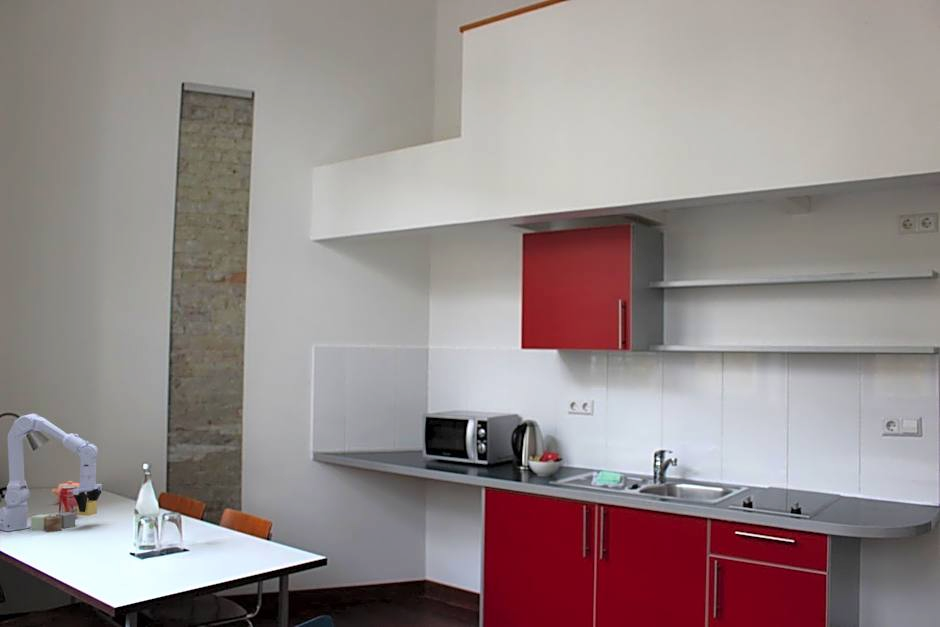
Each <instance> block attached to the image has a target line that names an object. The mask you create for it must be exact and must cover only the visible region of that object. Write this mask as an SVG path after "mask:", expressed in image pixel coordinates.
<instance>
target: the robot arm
mask: <svg viewBox="0 0 940 627" xmlns="http://www.w3.org/2000/svg"><path fill="white" fill-rule="evenodd" d="M38 431H39V432H41V431H42V432H44V433H47V434H48V435H50V436H52V437H54V438H56V439H57V440H59V441H61V443H62V446H63V447H65V448H66V449H68V450H69V451H71V452H73V453H74V454H76V455H78V457H79V458H80V465H79V467H80V469H79V483H80V487H78V488H76V489H73V495H74V498H75V499H76V501H77V504H78V507H79V511H80V512H85V510H86V502H87V500H94V501H97V502H98V499H99V497H100V495H101V493H102V489H103V483H97V482H96V480H97V455H98V454H99V449H98V446H96V444H94V443H90V442H89V441H88V440H85V439H83V438H81V437H80V436H79V434H77V433H74V432H73V433H72V432H71V433H66V432H65V431H64V430H62V429H61V428H60V427H58V426H56V425H55V424H53V423H51V421H49V420H48V419H46V418H45V417H42V416H40V415H39V414H38V413H34V412H33V413H29V414H26V415H25V414H24V415H21V416H20V417H18V418H17V419H15V420H14V422H13V425H12V426H11V429H10V430H9V432H8V434H7V455H8V456H7V458H8V475H9V476H8V479H9V481H8V483H7V486H6V492H5V495H4V501H5V503H6V505H5V506H3V507H0V530H1V531H3V532H13V531H19V530H26V529H31V525H28V500H29V498H30V496H31V492H30V491H31V490H30V489H29V488H28V483H27V481H26V479H25V463H24V462H25V460H24V457H25V456H24V439H25V437H26V436H27V435H29V433H30V432H38Z"/></svg>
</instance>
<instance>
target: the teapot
mask: <svg viewBox="0 0 940 627" xmlns="http://www.w3.org/2000/svg"><path fill="white" fill-rule="evenodd" d="M68 485H75V486H77V488H78V487H80V482H79V483H78V482H73V480H68V481H67V482H66V483H64V482H63V483H59V484H58V486H57V488H56V487H54V488H52V491H51V492H52V493H54V494H55V495H56V501H58V502H59V491H60V489H61V487H62V486H68Z"/></svg>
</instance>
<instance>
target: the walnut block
mask: <svg viewBox="0 0 940 627" xmlns="http://www.w3.org/2000/svg"><path fill="white" fill-rule="evenodd" d="M61 524H62V518H61V517H60V516H56V515H54V516H52V515H51V517H45V530H44V532H46V533H54V532H60V531H61V532H62V528H61Z"/></svg>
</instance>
